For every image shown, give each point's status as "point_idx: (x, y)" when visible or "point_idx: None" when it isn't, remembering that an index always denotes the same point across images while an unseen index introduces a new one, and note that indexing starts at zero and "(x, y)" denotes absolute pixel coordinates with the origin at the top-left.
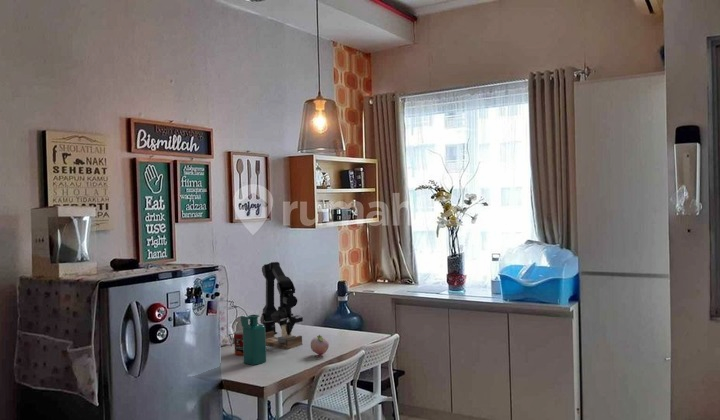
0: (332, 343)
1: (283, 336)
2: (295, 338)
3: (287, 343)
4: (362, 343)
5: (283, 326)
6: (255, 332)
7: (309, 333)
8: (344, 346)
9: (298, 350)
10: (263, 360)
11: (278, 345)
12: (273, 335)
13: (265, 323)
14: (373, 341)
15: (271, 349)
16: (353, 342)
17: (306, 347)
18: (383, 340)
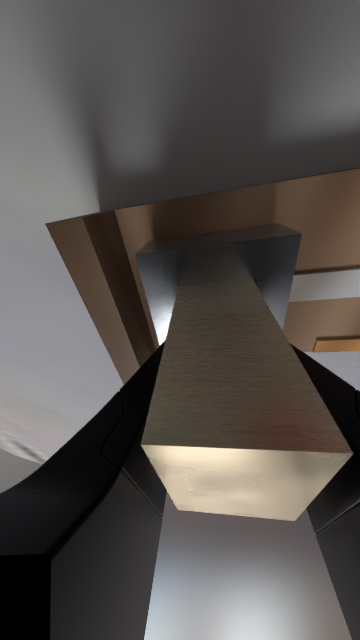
0: (75, 408)
1: (221, 287)
2: (102, 331)
3: (82, 216)
4: (23, 435)
5: (233, 424)
6: None
7: None
8: (6, 401)
9: (13, 240)
10: None
11: (228, 190)
12: None
13: None
14: (33, 451)
15: (221, 23)
16: (50, 434)
17: (69, 321)
18: (32, 460)
